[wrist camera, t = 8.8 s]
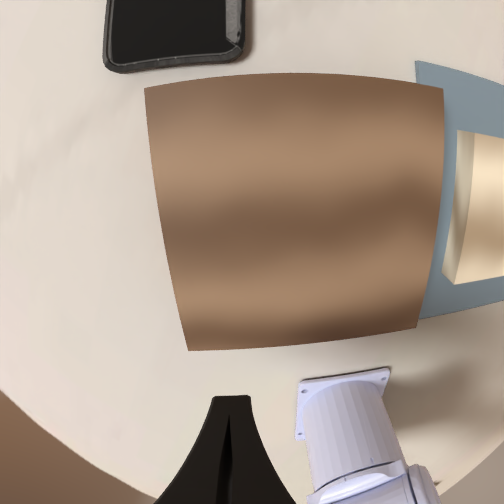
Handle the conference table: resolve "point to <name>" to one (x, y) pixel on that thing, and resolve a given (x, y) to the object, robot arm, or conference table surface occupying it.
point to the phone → (171, 33)
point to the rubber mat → (465, 119)
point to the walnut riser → (296, 204)
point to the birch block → (476, 211)
